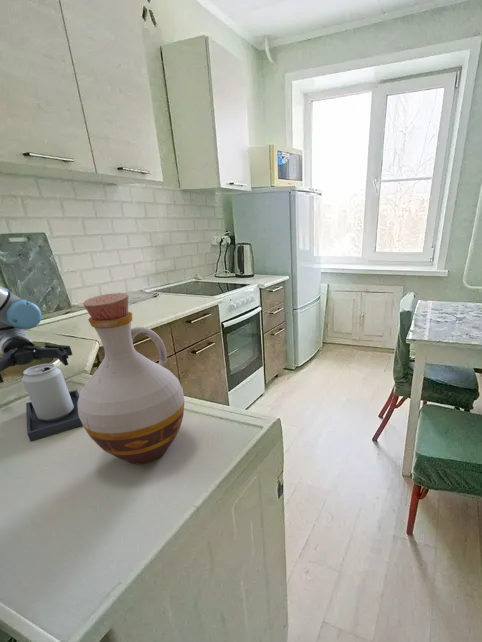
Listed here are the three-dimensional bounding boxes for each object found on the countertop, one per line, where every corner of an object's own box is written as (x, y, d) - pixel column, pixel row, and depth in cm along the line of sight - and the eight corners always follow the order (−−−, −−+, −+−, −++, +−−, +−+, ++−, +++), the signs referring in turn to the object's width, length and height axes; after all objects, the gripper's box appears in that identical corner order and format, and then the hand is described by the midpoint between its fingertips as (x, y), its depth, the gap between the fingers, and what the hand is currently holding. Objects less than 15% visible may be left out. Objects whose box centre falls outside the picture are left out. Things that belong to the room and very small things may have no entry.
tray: (89, 423, 80) (86, 416, 79) (30, 441, 74) (27, 433, 73) (79, 396, 93) (77, 389, 92) (29, 410, 87) (26, 402, 86)
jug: (148, 417, 81) (114, 284, 68) (214, 429, 75) (191, 286, 62) (74, 470, 65) (11, 308, 52) (152, 491, 59) (102, 314, 46)
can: (76, 415, 82) (59, 368, 77) (39, 426, 79) (18, 377, 73) (73, 403, 88) (57, 359, 83) (38, 413, 84) (19, 367, 79)
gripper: (71, 349, 108) (93, 367, 94) (-33, 375, 93) (-25, 400, 79) (63, 326, 105) (85, 340, 91) (-45, 348, 90) (-40, 369, 76)
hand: (34, 368), depth 85 cm, fingers open, 13 cm apart
